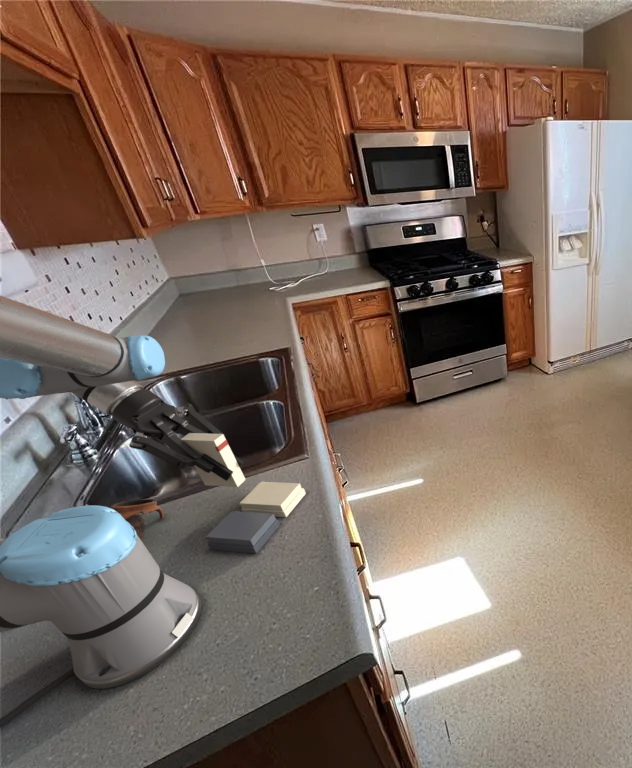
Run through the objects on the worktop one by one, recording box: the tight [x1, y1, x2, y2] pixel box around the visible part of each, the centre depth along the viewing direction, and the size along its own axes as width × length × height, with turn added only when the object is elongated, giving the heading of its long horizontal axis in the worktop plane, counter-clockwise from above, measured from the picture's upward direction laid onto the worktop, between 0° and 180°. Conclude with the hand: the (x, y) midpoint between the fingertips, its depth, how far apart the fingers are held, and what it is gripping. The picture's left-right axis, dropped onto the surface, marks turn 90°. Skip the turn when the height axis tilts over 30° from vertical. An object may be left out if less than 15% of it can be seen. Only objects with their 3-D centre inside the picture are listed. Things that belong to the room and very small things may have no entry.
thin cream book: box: [180, 433, 246, 488], centre depth 86 cm, size 2×8×12 cm, turn 81°
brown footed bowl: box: [109, 498, 165, 540], centre depth 84 cm, size 12×10×8 cm
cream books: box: [239, 481, 307, 518], centre depth 89 cm, size 7×10×3 cm
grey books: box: [205, 510, 281, 554], centre depth 81 cm, size 7×10×3 cm
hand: (235, 471), depth 86 cm, fingers closed on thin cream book, 2 cm apart
